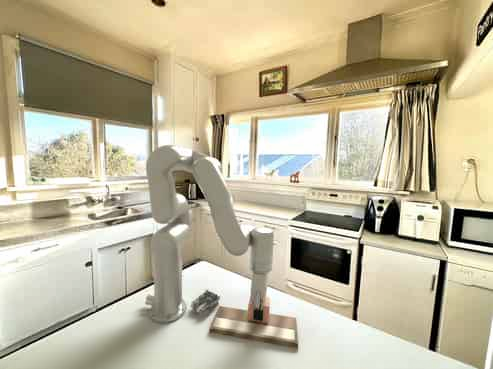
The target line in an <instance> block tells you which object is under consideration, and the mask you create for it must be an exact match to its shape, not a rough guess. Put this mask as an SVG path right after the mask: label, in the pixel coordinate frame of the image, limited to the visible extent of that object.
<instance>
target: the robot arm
mask: <svg viewBox="0 0 493 369" xmlns="http://www.w3.org/2000/svg"><path fill="white" fill-rule="evenodd" d="M145 171H146V177H147V183H148V192H149V193H148V194H149V200H150V201H149V202H150V211H151V216H152V219H153V220H154V221H155V222H156V223H157V224H160V225H165V224H166V225H165V226H162V227H161V228H160V229H158V230H157V231H156V232H155V233H154V234H153V236H152V238H151V240H150V249H151V253H152V259H153V294H148V295H146V299H145V303H144V304H145V305H147V306H151V307H150V309H149V317H150V319H151V320H152V321H153V322H156V323H159V324H160V323H161V324H165V323H171V322H173V321H174V322H175V321H176V320H178V319H179V318H181V317H183V315H184V314H185V312H186V310H187V302H186V301H185V300H184V299H183V260H182V259H183V258H182V255H181V247H182V246H184V244H185V243H186V242H187V241H188V240H189V239H190V237H191V234H192V228H191V227H192V226H191V217H190V216H191V215H190V207H189V203H188V200H187V198H186V197H185V195H183V194H181V193H179V192H176V182H175V179H174V176H173V172H174V171H185V172H187V173H190V174H192V176H193V177H194V179H195V181H196V183H197V185H198V187H199V188H200V190H201V192H202V194H203V197H204V198H205V201H206V203H207V204H208V207H209V209H210V210H209V212H210V215H211V219H212V223H213V225H214V229H215V231H216V233H217V235H218V236H217V237H218V238H219V240H220V241H221V242H220V243H222V245H223V247H224V248H225V250H226V251H227V252H228V254H230V255H231V256H234V257H241V256H243V255H245V254H246V253H247V251H248V250H249V248H250V254H249V255H250V258H249V261H250V262H249V263H250V264H249V269H250V270H251V271H252V273H251V285H250V295H251V296H249V299H250V300H251V301H254V299H255V302H254V312H253V319H254V320H259V321H263V303H264V302H265V297H267V290H268V283H269V282H268V281H269V273H271V272H272V270H273V259H274V258H273V257H274V235H275V233H274V231H273V230H272V229H271V228H269V227H264V226H258V227H257V226H252V225H247V224H242V223H239V222H238V220H237V216H236V213H235V209H234V198H233V194H232V192H231V190H230V188H229V186H228V184H227V183H226V180H225V179H224V175H222V173H223V166H222V164H221V162H220V161H219V160H218V159H217V158H215V157H212V156H210V155H207V154H205V153H202V152H199V151H196V150H193V149H191V148H189V147H188V148H187V147H184V146H180V145H175V144H165V145H160V146H158V147H156V148H155V149H154V150H152V151H151V153H150V154H149V155H148V157H147V160H146V164H145ZM260 298H261V299H262V300H260ZM260 303H261V305H260Z"/></svg>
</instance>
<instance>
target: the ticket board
mask: <svg viewBox="0 0 493 369" xmlns="http://www.w3.org/2000/svg"><path fill="white" fill-rule="evenodd" d="M208 329H209V330H208V332H209V334H214V335H220V336H221V335H222V336H227V337H232V338H238V339H244V340H248V341H255V342H260V343H266V344H273V345H278V346H284V347H287V348H288V347H289V348H296V349H299V338H298V337H299V334H298V325H297V317H294V316H293V317H292V316H287V315H281V314H274V313H269V322H268V323H263V322H257V321H250V320H248V309H240V308H234V307H229V306H220V305H219V306H218V308H217V310H216V313H215V315H214V317H213V319H212V321H211V324H210V326H209V328H208Z"/></svg>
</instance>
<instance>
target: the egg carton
mask: <svg viewBox="0 0 493 369" xmlns="http://www.w3.org/2000/svg"><path fill="white" fill-rule="evenodd" d="M220 299H221V295H218V294H217V293H215V292H213V291H210V290H208V289H206V290H205V291H204V292H203V293H201V294H200V295H199V296H197V297H196V298H195V299H194V300H192V301H191V303H190V308H192V309H191V310H192V314H193V315H197V314H199V315H200V316H199V317H200V318H202V319H203V318H204V317H208V316H209V314H210V312H213V311H214V308H215V306H218V305H219V304H220V301H219V300H220ZM204 303H205V307H201V308H200V305H203V304H204Z"/></svg>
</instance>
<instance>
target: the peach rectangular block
mask: <svg viewBox="0 0 493 369" xmlns="http://www.w3.org/2000/svg"><path fill="white" fill-rule="evenodd" d="M250 296H251V294H250ZM250 296H249V297H250ZM260 300H262V299H261V298H260ZM254 302H255V299H254V301H251V300H250V298H249V300H248V304H247V306H248V308H247V310H248V320H250V321H257V322H263V323H268V322H269V314H270V307H271V306H270V305H271V297H270V296H266V297H265V302H264V303H263V321H259V320H254V319H253V312H254ZM260 305H261V303H260Z"/></svg>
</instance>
